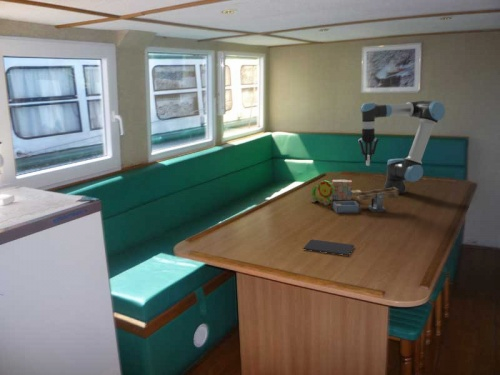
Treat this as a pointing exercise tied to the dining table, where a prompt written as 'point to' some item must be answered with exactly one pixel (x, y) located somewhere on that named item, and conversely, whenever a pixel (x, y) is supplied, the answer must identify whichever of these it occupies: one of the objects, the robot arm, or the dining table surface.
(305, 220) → the dining table surface
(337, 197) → the stack of blocks
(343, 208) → the tray
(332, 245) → the notebook
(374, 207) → the fulcrum
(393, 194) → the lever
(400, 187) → the robot arm
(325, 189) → the toy lion
